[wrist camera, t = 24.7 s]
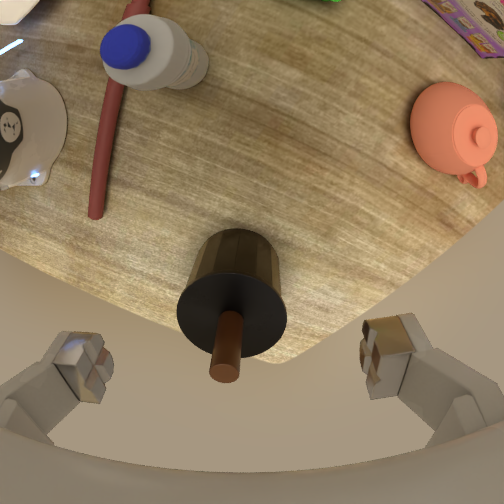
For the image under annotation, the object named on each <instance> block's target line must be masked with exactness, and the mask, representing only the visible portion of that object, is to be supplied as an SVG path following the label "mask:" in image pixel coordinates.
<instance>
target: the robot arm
mask: <svg viewBox="0 0 504 504" xmlns="http://www.w3.org/2000/svg"><path fill="white" fill-rule="evenodd" d="M21 42H23V40H17V41H15V42H13V43H12V44H10V45H8V46H7V47H5V48H3V49H2V50H0V55H1V54H2V53H4V52H6V51H7V50H9V49H11V48H12V47H14V46H16V45H18V44H19V43H21ZM66 131H67V115H66V109H65V105H64V102H63V100H62V97H61V95H60V94H59V92H58V91H57V89H56V88H55V87H54V86H53V85H51V84H50V83H48V82H47V81H44V80H41V79H38V78H37V77H35V75H34V74H33V73H32V72H31V71H30V70H29V69H27V68H24V69H20V70H19V71H18V72H17V73H15V74H14V75H13V76H12V77H11V78H9V79H8V80H3V81H0V190H6V189H8V188H9V187H13V186H40V185H43V184H45V183H46V182H47V181H48V178H49V174H50V169H51V166H52V164H53V162H54V161H55V160H56V158H57V157H58V155H59V153H60V151H61V149H62V147H63V144H64V141H65V137H66ZM35 177H36V179H35ZM362 332H363V335H364V338H363V339H362V340H361V342H360V363H361V367H362V371H363V372H364V373H365V374H367V379H366V385H367V389H368V392H369V395H370V399H371V400H373V399H379V398H386V397H392V396H398V398H399V399H400V400H401V401H403V402H404V403H405V404H406V405H407V406H408V407H409V408H410V409H411V410H412V411H414V412H415V413H416V414H417V415H418V416H419V417H420V418H421V419H422V420H423V421H425V422H426V423H427V424H428V425H429V426H430V427H431V428H432V429H433V430H434V431H435V433H434V434H433V436H432V438H431V439H430V441H429V442H428V444H427V445H426V447H425V448H423V449H419V450H416V451H412V452H408V453H404V454H400V455H396V456H391V457H387V458H382V459H377V460H372V461H367V462H361V463H355V464H349V465H342V466H335V467H328V468H319V469H310V470H297V471H284V472H258V473H257V472H256V473H233V472H229V473H228V472H204V471H189V470H178V469H167V468H160V467H151V466H145V465H138V464H132V463H126V462H120V461H115V460H110V459H105V458H100V457H96V456H91V455H87V454H83V453H79V452H75V451H71V450H68V449H64V448H60V447H57V446H54V443H53V442H52V441H51V440H50V438H49V437H48V436H47V434H48V433H49V432H50V431H51V430H52V429H53V428H54V427H55V426H56V425H57V424H58V423H59V422H60V421H61V420H62V419H63V418H64V417H65V416H66V415H67V414H68V413H70V411H72V410H73V409H74V408H75V407H76V406H77V405H78V404H79V403H80V402H79V401H81V402H88V403H98V404H100V402H101V400H102V398H103V395H104V393H105V391H106V387H105V383H106V382H107V381H109V380H110V379H111V377H112V374H113V367H114V363H113V358H112V356H111V354H110V352H109V351H107V350H106V349H105V348H104V347H103V346H104V340H103V338H102V336H101V335H100V334H98V333H89V332H75V331H74V332H71V331H62V332H60V333H59V334H58V335H57V337H56V338H55V340H54V341H53V343H52V344H51V346H50V347H49V349H48V351H47V352H46V353H45V355H44V356H43V358H42V359H41V361H40V362H36V363H34V364H32V365H31V366H29V367H28V368H26V369H25V370H23V371H22V372H20V373H19V374H17V375H16V376H14V377H13V378H11V379H10V380H8V381H7V382H5V383H4V384H2V385H1V386H0V504H504V396H503V394H502V392H501V390H500V388H499V387H498V385H497V383H496V382H494V381H492V380H491V379H489V378H487V377H485V376H484V375H482V374H480V373H479V372H477V371H475V370H474V369H472V368H470V367H468V366H467V365H465V364H464V363H462V362H460V361H459V360H457V359H455V358H454V357H452V356H450V355H448V354H447V353H445V352H443V351H442V350H440V349H438V348H435V349H433V347H432V345H431V344H430V342H429V340H428V338H427V336H426V335H425V333H424V331H423V329H422V327H421V325H420V324H419V322H418V320H417V318H416V317H415V315H414V314H413V313H406V314H401V315H396V316H390V317H383V318H376V319H368V320H364V322H363V328H362Z"/></svg>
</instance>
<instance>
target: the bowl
mask: <svg viewBox="0 0 504 504" xmlns="http://www.w3.org/2000/svg"><path fill="white" fill-rule="evenodd" d="M39 1H40V0H0V24H1V25H16V24H17V23H19V22H20V21H21V20H22V19H23V18H24V17H25V16H26V15H27V14H28V13H29V12H30V11H31V10H32V9H33V8H34V7H35V5H36V4H37V3H38V2H39Z"/></svg>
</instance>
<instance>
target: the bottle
mask: <svg viewBox="0 0 504 504" xmlns="http://www.w3.org/2000/svg"><path fill="white" fill-rule="evenodd" d="M100 54H101V58H102V61H103V66H104V68H105V70H106V72H107V73H108V75H109V76H110V77H111V78H112V79H113V80H115V81H116V82H118V83H120V84H123V85H126V86H128V87H130V88H133V89H136V90H140V91H150V90H156V89H161V88H164V87H168V88H172V89H187V88H190V87H192V86H194V85H196V84H197V83H199V82H200V81H201V80H202V79H203V78H204V77H205V75H206V72H207V69H208V64H209V58H208V55H207V53H206V51H205V50H204V48H203V47H202V46H201V45H200V44H199V43H197V42H195V41H194V40H191V39H189V38H188V36H187V34H186V33H185V32H184V30H183V29H182V28H181V27H180V26H179V25H178V24H177V23H175V22H174V21H172V20H170V19H167V18H163V17H158V16H154V15H149V14H139V15H134V16H131V17H129V18H126V19H125V20H123V21H121V22H120V23H119V24H117V25H116V26H115V27H114V28H113V29H111V30H110V31H109V32H108V33H107V34H106V35H105V36H104V38H103V40H102V43H101V47H100Z"/></svg>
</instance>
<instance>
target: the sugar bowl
mask: <svg viewBox="0 0 504 504" xmlns="http://www.w3.org/2000/svg"><path fill="white" fill-rule="evenodd" d="M410 129H411V135H412V140H413V143H414V145H415V148H416V150H417V152H418V154H419V155H420V157H421V158H422V159H423V160H424V162H425V163H426V164H428V165H429V166H430V167H432V168H433V169H435V170H437V171H439V172H442V173H445V174H451V175H457V177H458V179H459V181H460V182H461V183H463V184H467V183H470V184H471V185H472V186H473V187H475V188H482V187H484V186H485V184H486V182H487V174H486V170H485V168H484V166H483V165H484V164H486V163H487V162H488V161H489V160H490V159H491V157H492V156H493V154H494V152H495V150H496V146H497V141H498V132H497V126H496V123H495V120H494V118H493V116H492V114H491V112H490V110H489V109H488V107H487V106H486V104H485V103H484V102H483V100H482V99H481V98H480V97H479V96H478V95H477V94H475V93H474V92H473V91H471V90H470V89H468V88H466V87H464V86H462V85H459V84H456V83H451V82H440V83H436V84H433V85H431V86H429V87H427V88H426V89H425V90H424V91H423V92H422V93H421V94H420V95H419V96H418V98H417V100H416V101H415V103H414V106H413V109H412V113H411V119H410ZM473 171H475V172H476V175H477V177H475V176H474V175H473V174H472V173H471V172H473Z"/></svg>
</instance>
